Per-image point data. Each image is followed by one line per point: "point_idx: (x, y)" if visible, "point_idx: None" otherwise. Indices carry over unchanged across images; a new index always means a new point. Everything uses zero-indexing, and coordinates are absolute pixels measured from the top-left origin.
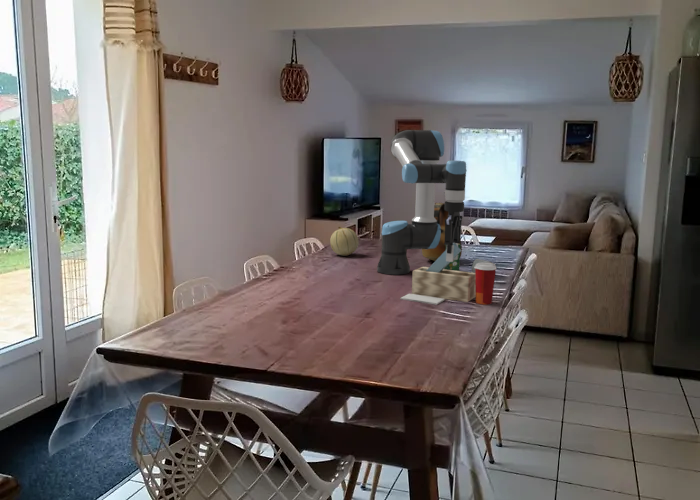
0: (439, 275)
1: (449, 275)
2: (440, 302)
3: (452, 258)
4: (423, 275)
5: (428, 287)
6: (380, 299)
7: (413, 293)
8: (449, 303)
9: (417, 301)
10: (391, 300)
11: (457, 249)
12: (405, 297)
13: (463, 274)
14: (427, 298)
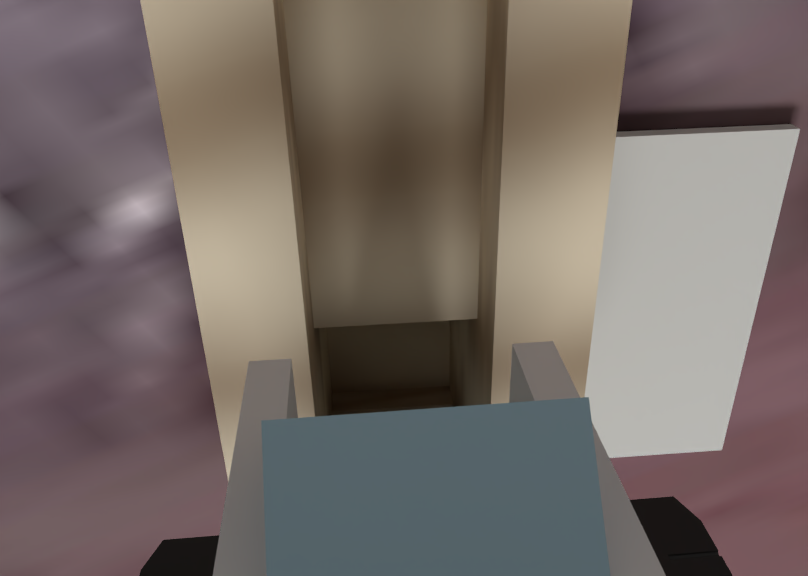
0: (584, 354)
1: (604, 225)
2: (693, 128)
3: (575, 389)
4: None
5: None
6: (775, 533)
7: None
8: (684, 34)
9: (749, 311)
10: (776, 471)
11: (478, 497)
12: (696, 428)
13: (285, 106)
14: (650, 277)
